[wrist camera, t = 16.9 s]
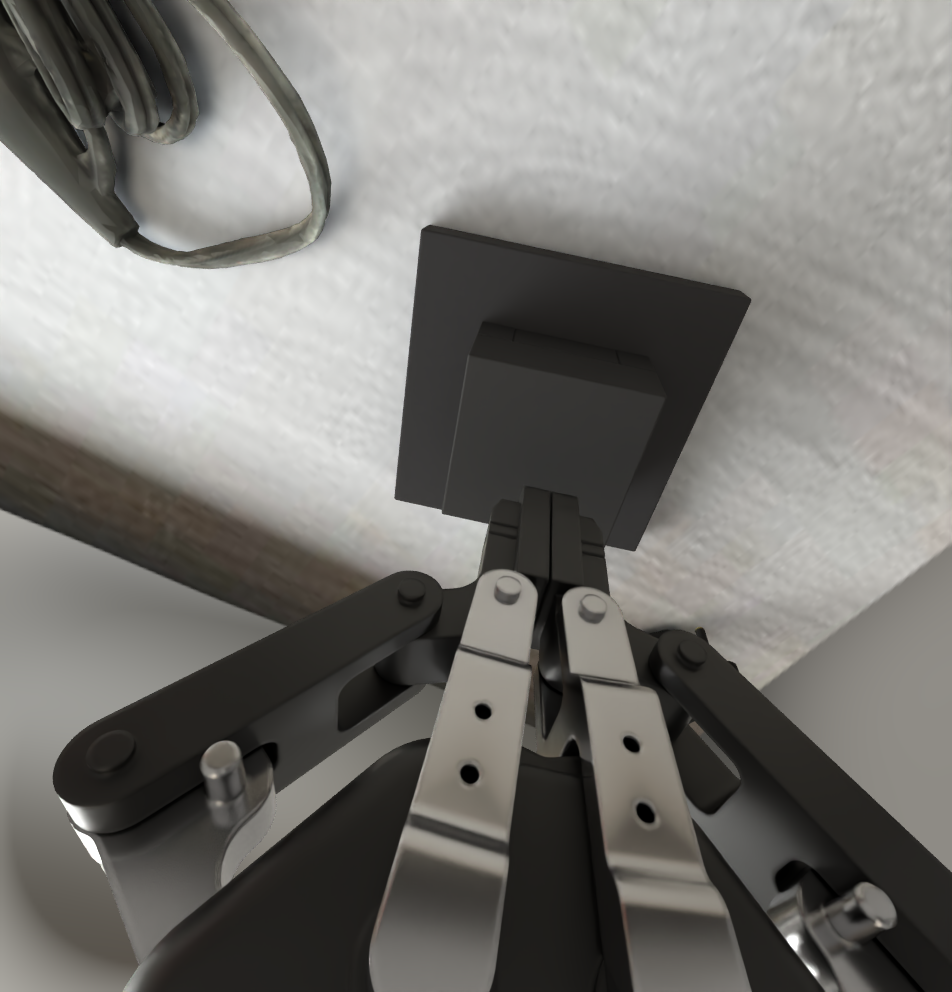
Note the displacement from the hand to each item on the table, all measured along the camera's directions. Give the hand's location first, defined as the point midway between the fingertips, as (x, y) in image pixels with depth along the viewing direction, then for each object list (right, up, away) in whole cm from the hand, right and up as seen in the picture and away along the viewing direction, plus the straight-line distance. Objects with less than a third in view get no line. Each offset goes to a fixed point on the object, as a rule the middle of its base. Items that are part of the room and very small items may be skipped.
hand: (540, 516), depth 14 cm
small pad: (+1, +4, +6) cm, 7 cm away
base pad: (+1, +4, +7) cm, 8 cm away
